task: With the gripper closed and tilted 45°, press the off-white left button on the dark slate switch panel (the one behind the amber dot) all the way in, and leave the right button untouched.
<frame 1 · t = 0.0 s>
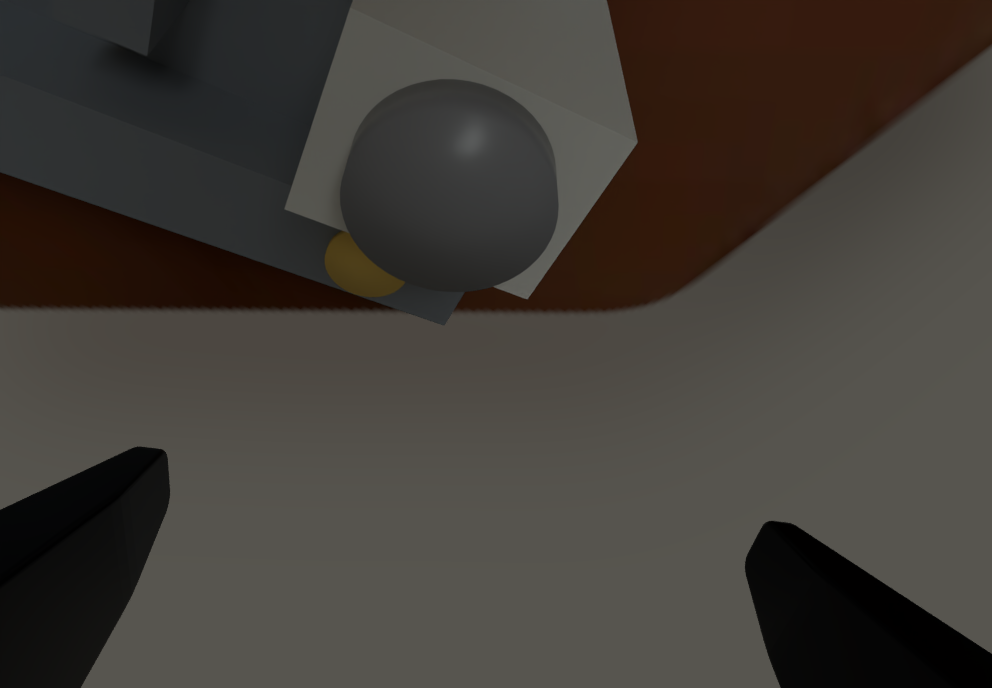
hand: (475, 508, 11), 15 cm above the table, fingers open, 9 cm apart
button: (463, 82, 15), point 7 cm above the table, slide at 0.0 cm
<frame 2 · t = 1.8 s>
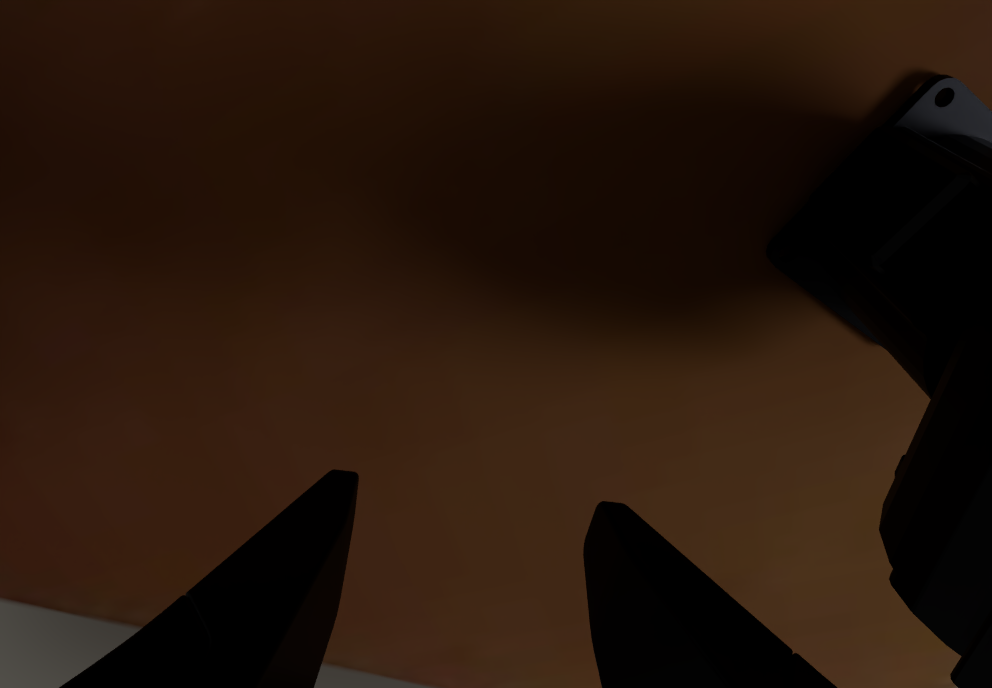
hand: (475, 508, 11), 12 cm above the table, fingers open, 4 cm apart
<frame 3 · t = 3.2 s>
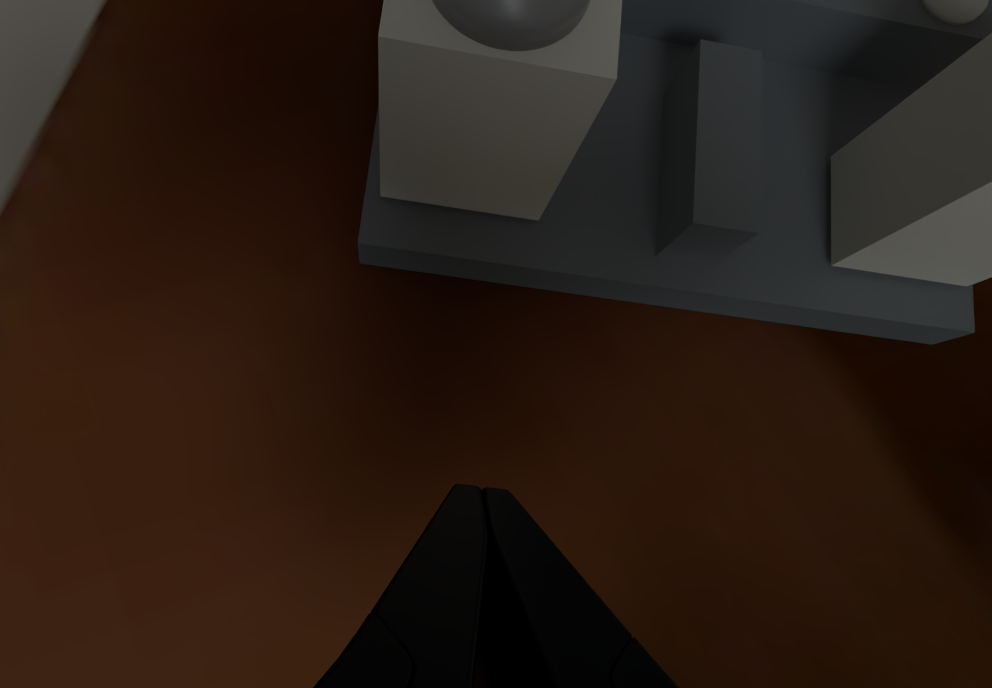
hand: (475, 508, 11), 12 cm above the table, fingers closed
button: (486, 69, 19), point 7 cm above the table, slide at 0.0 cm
switch panel: (665, 213, 26), on the table
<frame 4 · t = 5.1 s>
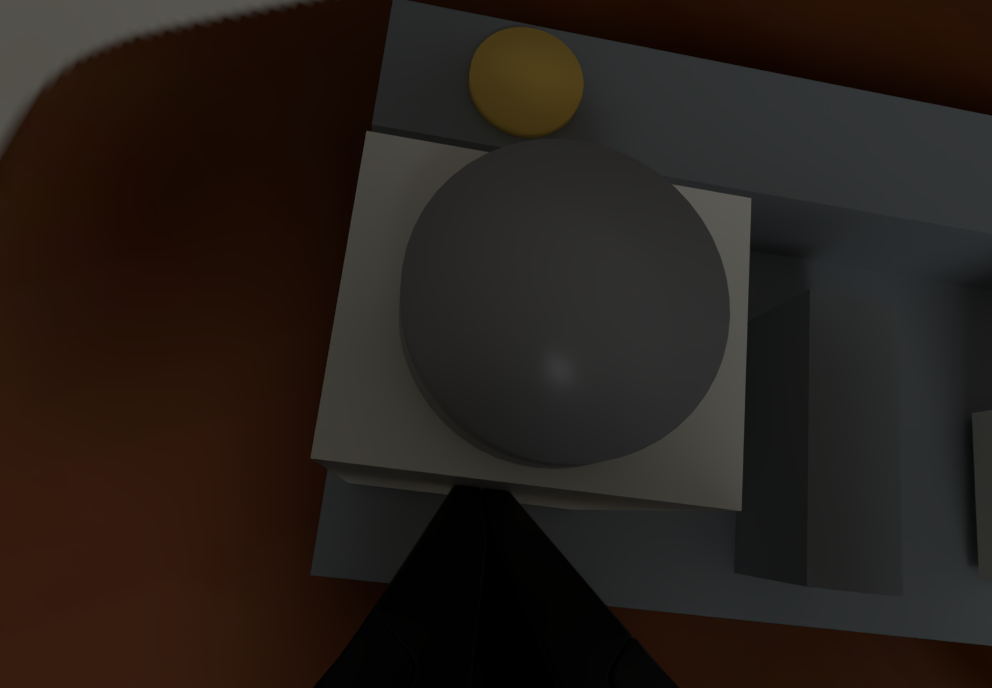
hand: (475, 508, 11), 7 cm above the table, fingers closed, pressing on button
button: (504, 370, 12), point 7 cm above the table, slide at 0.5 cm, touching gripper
switch panel: (738, 473, 19), on the table
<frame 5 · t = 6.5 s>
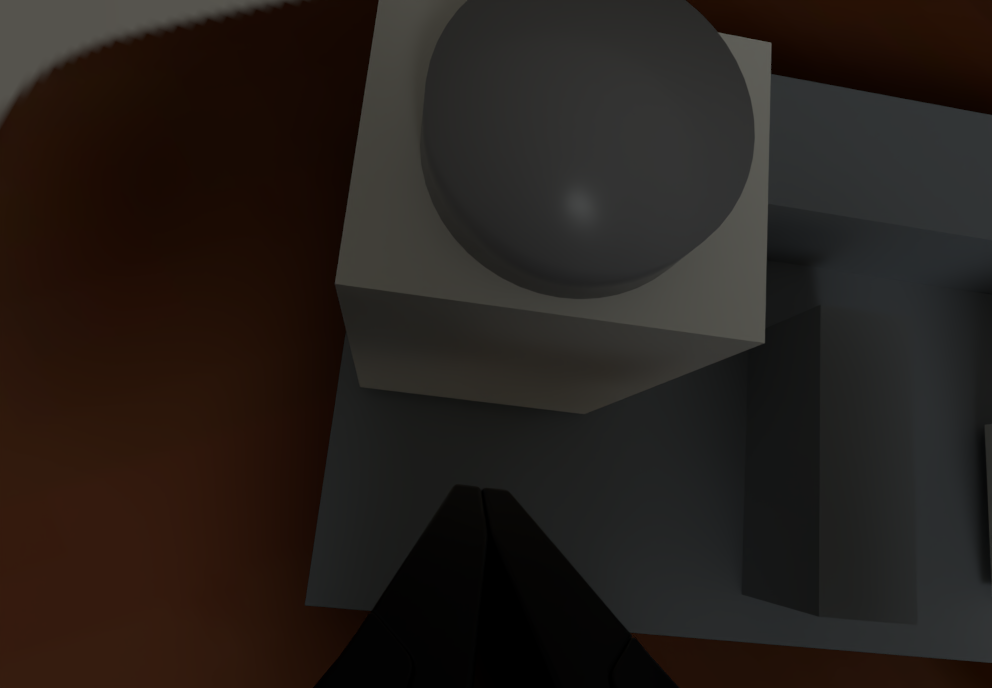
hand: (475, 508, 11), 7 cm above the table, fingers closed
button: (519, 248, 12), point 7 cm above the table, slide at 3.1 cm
switch panel: (744, 487, 19), on the table
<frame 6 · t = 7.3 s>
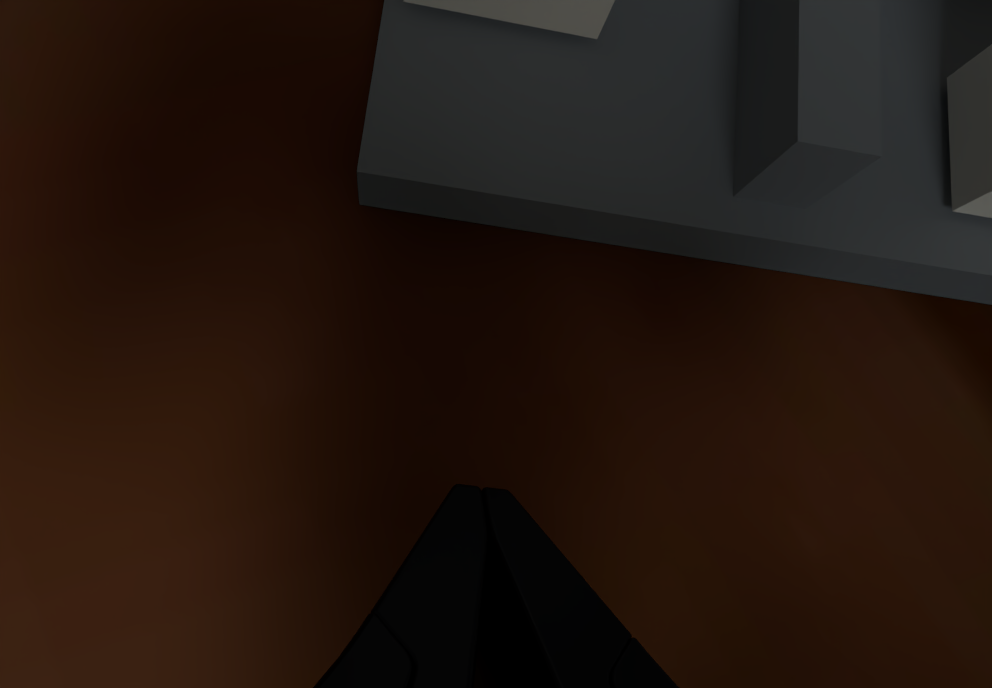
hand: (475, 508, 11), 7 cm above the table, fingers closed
switch panel: (736, 151, 21), on the table
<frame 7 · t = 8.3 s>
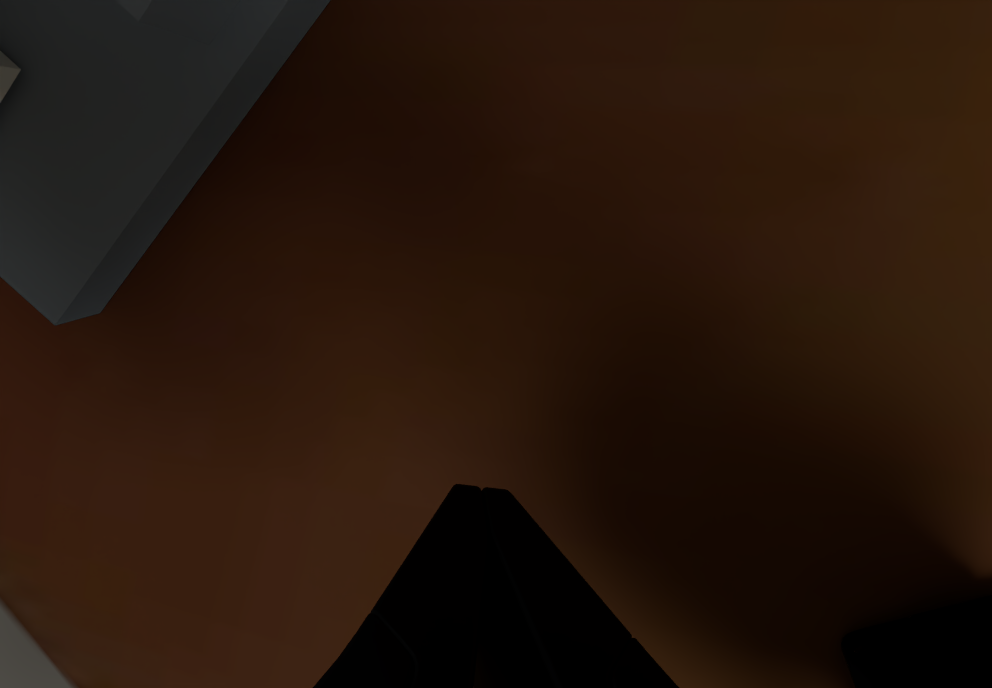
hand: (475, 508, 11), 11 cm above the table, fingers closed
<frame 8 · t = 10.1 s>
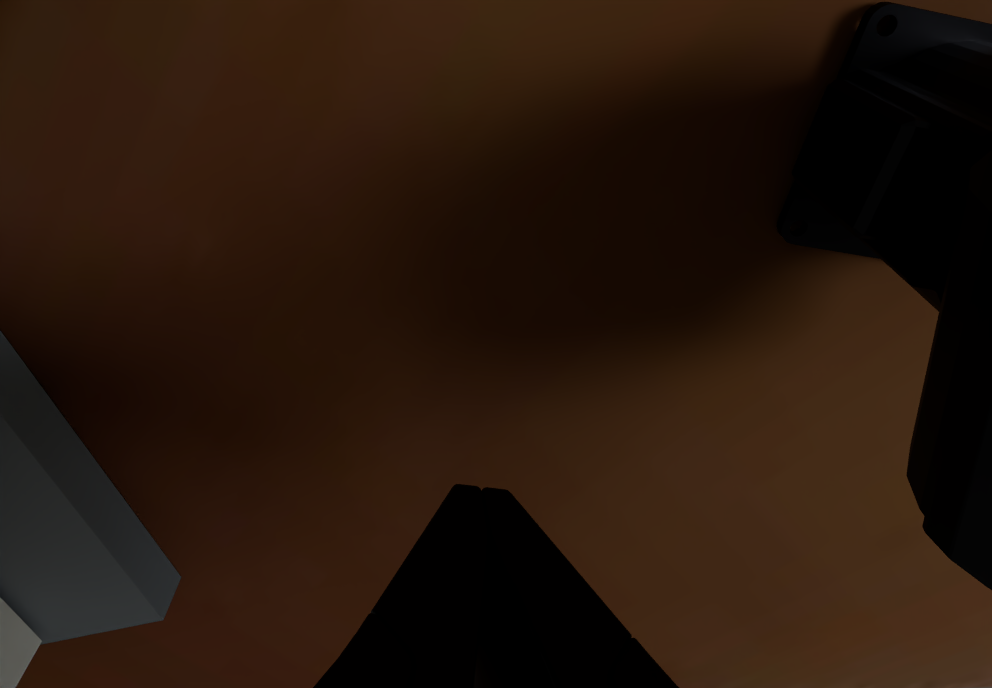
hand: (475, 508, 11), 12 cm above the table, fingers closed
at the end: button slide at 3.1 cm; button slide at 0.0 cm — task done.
